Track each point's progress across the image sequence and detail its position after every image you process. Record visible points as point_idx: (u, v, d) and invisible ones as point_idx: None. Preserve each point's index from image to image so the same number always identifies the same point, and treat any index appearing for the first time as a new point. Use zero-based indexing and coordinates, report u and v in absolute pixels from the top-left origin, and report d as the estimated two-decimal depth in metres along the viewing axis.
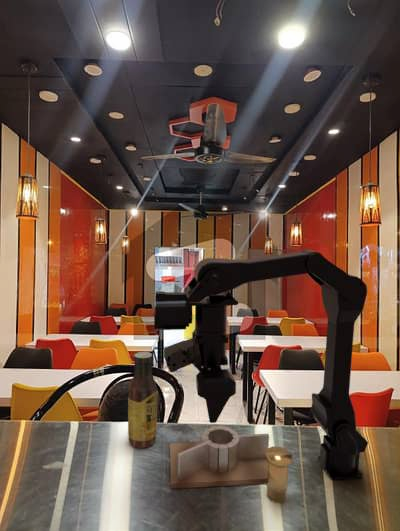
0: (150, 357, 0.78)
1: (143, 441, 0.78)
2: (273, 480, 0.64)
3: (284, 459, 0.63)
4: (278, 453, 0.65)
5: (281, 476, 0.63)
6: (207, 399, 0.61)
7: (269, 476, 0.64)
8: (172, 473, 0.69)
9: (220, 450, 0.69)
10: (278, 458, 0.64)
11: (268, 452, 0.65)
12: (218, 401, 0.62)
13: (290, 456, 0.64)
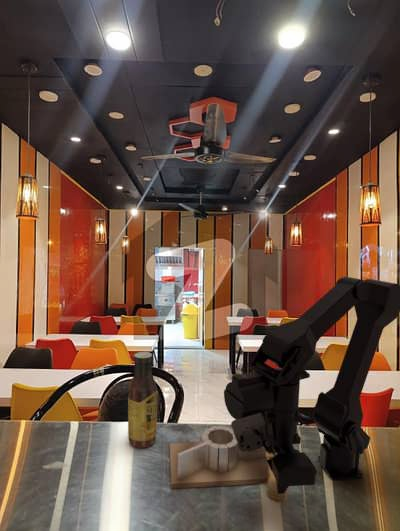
0: (150, 357, 0.78)
1: (143, 441, 0.78)
2: (273, 480, 0.64)
3: None
4: None
5: None
6: None
7: (269, 476, 0.64)
8: (172, 473, 0.69)
9: (220, 450, 0.69)
10: None
11: (268, 452, 0.65)
12: None
13: None
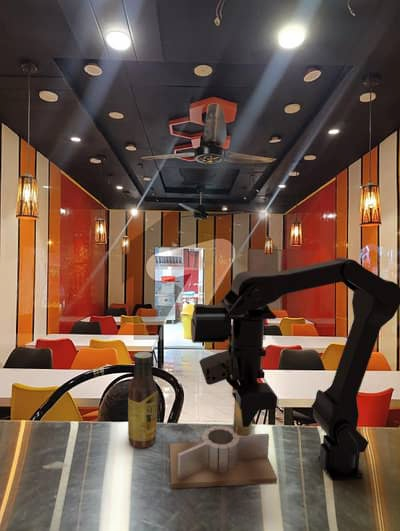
0: (150, 357, 0.78)
1: (143, 441, 0.78)
2: (239, 414, 0.67)
3: None
4: None
5: None
6: None
7: (235, 411, 0.67)
8: (172, 473, 0.69)
9: (220, 450, 0.69)
10: None
11: (235, 389, 0.68)
12: None
13: None
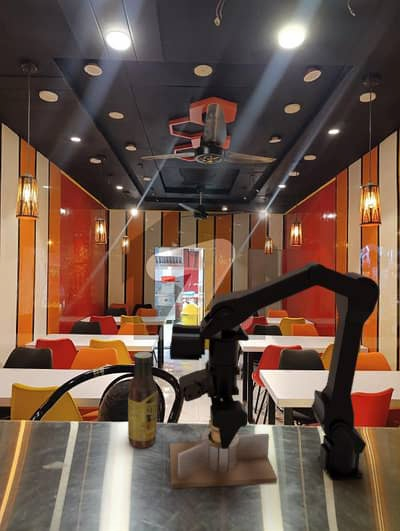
0: (150, 357, 0.78)
1: (143, 441, 0.78)
2: None
3: None
4: None
5: None
6: (220, 428, 0.66)
7: None
8: (172, 473, 0.69)
9: (220, 450, 0.69)
10: None
11: None
12: (230, 429, 0.67)
13: None
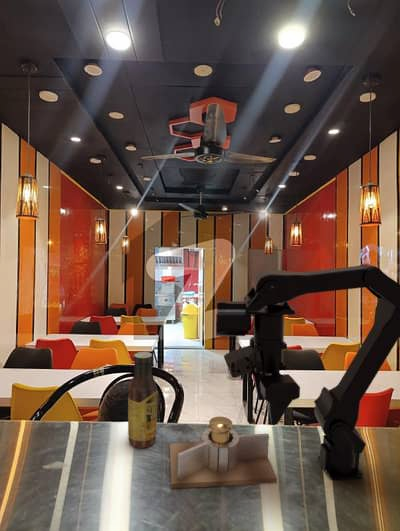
0: (150, 357, 0.78)
1: (143, 441, 0.78)
2: None
3: (224, 426, 0.71)
4: (220, 422, 0.73)
5: (222, 441, 0.71)
6: (271, 402, 0.65)
7: None
8: (172, 473, 0.69)
9: (220, 450, 0.69)
10: (219, 425, 0.71)
11: (212, 421, 0.73)
12: (280, 404, 0.66)
13: (230, 424, 0.72)
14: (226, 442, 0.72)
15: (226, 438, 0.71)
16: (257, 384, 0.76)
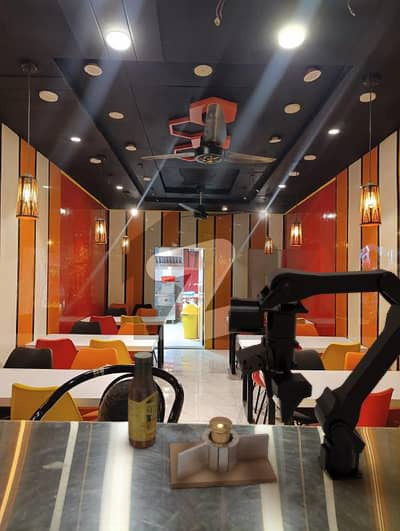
0: (150, 357, 0.78)
1: (143, 441, 0.78)
2: None
3: (224, 426, 0.71)
4: (220, 422, 0.73)
5: (222, 441, 0.71)
6: (282, 400, 0.65)
7: None
8: (172, 473, 0.69)
9: (220, 450, 0.69)
10: (219, 425, 0.71)
11: (212, 421, 0.73)
12: (291, 402, 0.66)
13: (230, 424, 0.72)
14: (226, 442, 0.72)
15: (226, 438, 0.71)
16: (266, 382, 0.76)
